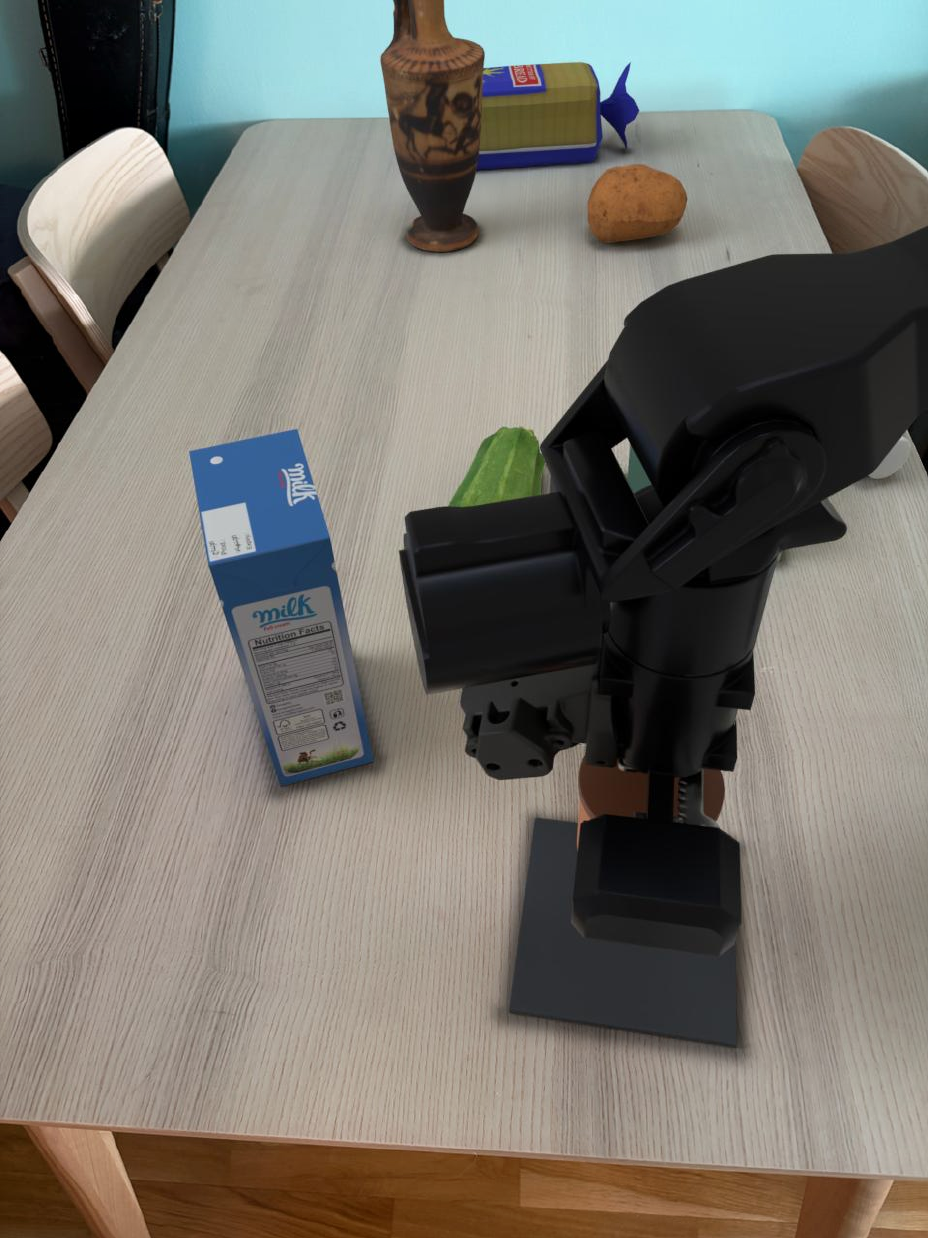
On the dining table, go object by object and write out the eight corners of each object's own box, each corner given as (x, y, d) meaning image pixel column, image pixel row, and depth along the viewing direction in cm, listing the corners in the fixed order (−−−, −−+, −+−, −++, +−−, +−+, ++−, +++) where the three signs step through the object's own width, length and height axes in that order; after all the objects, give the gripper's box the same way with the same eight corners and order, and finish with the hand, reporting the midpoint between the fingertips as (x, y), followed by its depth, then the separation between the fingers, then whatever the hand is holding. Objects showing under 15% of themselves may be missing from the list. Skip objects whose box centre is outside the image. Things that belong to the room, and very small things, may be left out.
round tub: (707, 798, 51) (724, 730, 47) (707, 917, 47) (726, 854, 42) (579, 783, 52) (584, 715, 48) (567, 898, 48) (572, 835, 43)
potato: (585, 217, 117) (588, 152, 111) (680, 216, 116) (688, 151, 110) (586, 253, 110) (589, 187, 105) (686, 253, 109) (695, 186, 104)
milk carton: (373, 762, 64) (330, 537, 49) (280, 787, 63) (207, 565, 48) (343, 654, 71) (296, 427, 56) (258, 675, 70) (188, 449, 55)
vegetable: (446, 525, 67) (507, 369, 80) (408, 585, 72) (471, 429, 86) (539, 573, 68) (583, 411, 81) (495, 629, 73) (544, 468, 87)
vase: (507, 239, 114) (504, -69, 92) (429, 267, 110) (406, -47, 88) (455, 207, 120) (440, -88, 98) (380, 233, 116) (347, -68, 94)
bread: (441, 145, 133) (436, 62, 126) (622, 133, 133) (628, 50, 126) (444, 176, 126) (440, 91, 119) (635, 163, 126) (642, 77, 119)
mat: (732, 846, 59) (733, 841, 58) (736, 1048, 51) (737, 1045, 50) (535, 821, 61) (535, 817, 60) (508, 1013, 53) (508, 1010, 52)
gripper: (505, 455, 44) (509, 673, 56) (426, 804, 32) (452, 993, 43) (755, 472, 43) (707, 693, 54) (775, 846, 30) (707, 1031, 42)
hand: (644, 833), depth 48 cm, fingers closed on round tub, 6 cm apart
